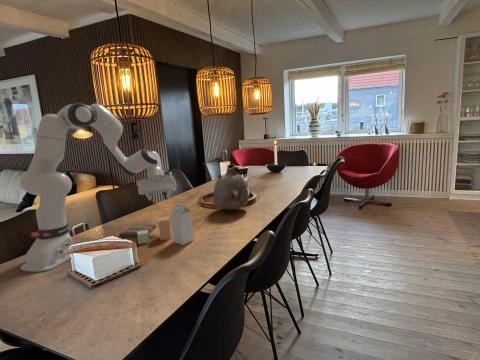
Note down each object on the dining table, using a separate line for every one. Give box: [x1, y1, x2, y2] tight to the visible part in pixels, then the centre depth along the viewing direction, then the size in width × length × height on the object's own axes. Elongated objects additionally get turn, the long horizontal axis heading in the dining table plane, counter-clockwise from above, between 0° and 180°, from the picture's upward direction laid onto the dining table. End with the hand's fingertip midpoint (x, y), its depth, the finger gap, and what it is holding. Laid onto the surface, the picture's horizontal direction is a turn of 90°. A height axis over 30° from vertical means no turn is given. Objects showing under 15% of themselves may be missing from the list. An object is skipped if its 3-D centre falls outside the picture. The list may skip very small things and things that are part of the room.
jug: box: [213, 163, 249, 212], centre depth 194 cm, size 24×21×30 cm
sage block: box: [137, 230, 150, 245], centre depth 154 cm, size 5×5×5 cm
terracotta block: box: [157, 216, 172, 241], centre depth 157 cm, size 5×5×10 cm
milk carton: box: [170, 202, 194, 246], centre depth 151 cm, size 7×7×19 cm
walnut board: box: [118, 224, 157, 238], centre depth 168 cm, size 14×14×2 cm
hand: (159, 198), depth 166 cm, fingers open, 8 cm apart
